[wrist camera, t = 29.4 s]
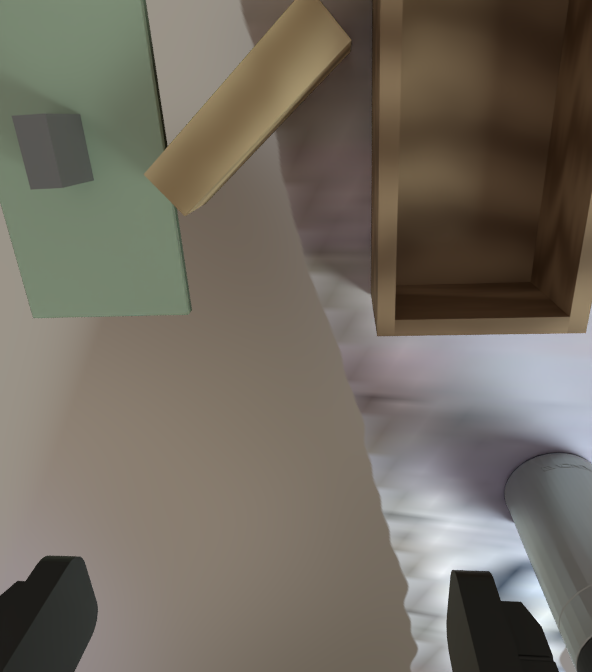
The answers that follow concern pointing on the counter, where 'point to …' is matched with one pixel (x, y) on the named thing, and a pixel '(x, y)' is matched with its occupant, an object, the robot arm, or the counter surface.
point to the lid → (86, 161)
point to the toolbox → (481, 166)
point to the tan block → (250, 104)
